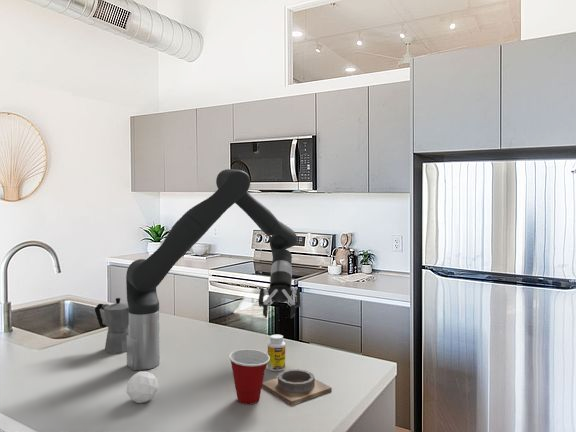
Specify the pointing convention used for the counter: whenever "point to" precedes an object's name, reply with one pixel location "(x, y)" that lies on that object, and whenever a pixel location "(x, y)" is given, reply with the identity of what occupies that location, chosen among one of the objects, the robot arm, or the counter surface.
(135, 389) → the geometric ball
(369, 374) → the counter surface
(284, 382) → the ring collar
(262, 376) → the plastic cup
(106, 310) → the coffeepot
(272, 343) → the supplement bottle
